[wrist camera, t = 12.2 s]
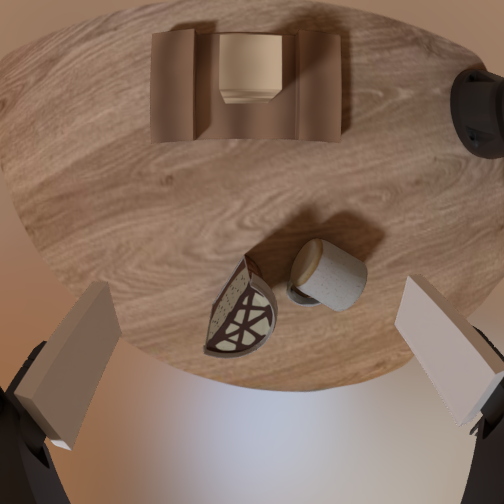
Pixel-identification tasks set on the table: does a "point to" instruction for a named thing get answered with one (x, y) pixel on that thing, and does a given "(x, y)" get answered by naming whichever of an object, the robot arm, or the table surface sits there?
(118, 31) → the table surface
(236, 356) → the food container
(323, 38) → the cradle
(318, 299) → the ceramic mug
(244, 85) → the tall wooden block
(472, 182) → the table surface
